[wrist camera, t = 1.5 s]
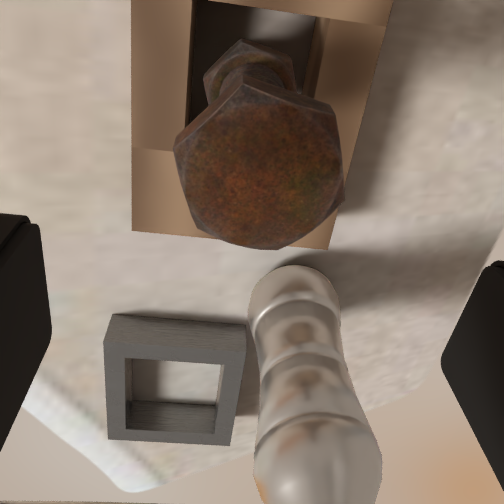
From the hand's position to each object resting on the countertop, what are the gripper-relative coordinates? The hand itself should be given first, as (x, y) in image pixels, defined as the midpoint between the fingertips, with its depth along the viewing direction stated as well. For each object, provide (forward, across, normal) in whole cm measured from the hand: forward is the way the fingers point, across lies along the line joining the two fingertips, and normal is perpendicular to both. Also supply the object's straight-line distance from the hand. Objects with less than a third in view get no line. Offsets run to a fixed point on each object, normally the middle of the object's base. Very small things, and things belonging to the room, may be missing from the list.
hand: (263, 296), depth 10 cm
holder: (+21, +3, +25) cm, 32 cm away
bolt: (+21, 0, 0) cm, 21 cm away
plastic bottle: (+21, -6, +15) cm, 26 cm away
